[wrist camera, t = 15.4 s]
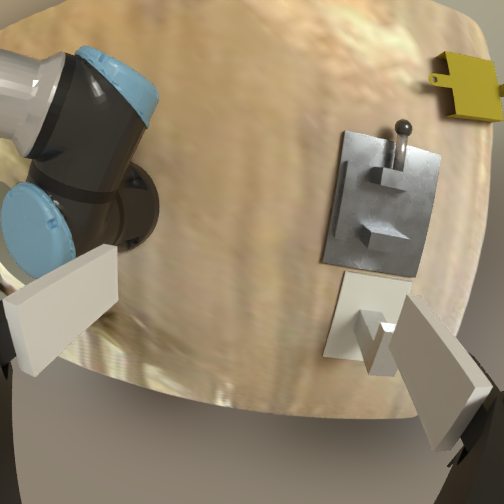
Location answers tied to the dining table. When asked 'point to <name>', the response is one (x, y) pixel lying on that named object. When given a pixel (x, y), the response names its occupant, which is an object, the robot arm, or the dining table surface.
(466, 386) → the robot arm
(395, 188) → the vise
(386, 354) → the gray rectangular block
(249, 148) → the dining table surface
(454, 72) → the bracket
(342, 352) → the mat
